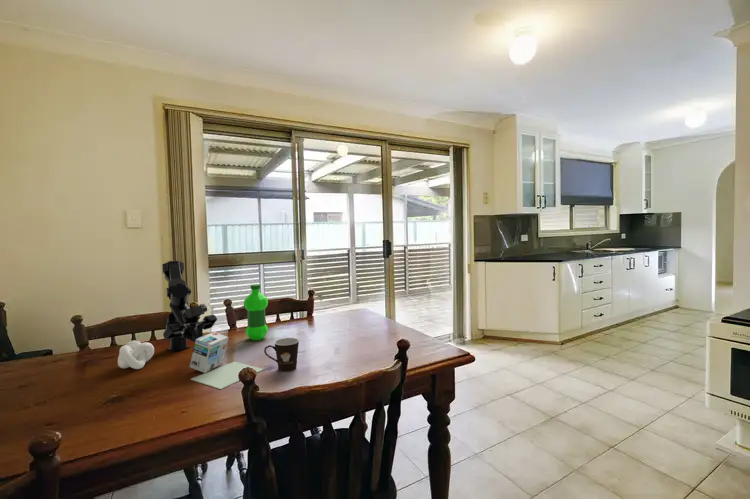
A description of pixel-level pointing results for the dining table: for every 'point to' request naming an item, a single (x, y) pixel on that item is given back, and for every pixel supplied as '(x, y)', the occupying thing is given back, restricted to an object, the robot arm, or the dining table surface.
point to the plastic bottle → (256, 313)
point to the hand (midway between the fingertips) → (202, 344)
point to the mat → (223, 375)
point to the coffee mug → (285, 353)
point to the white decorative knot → (135, 354)
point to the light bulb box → (208, 352)
